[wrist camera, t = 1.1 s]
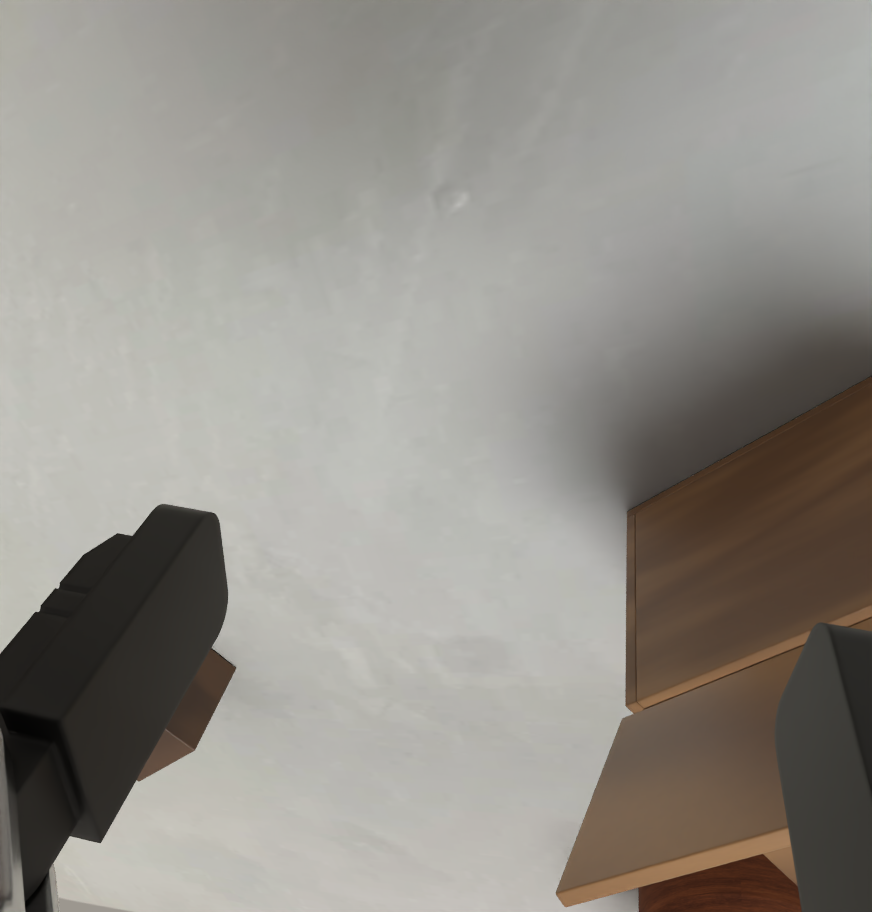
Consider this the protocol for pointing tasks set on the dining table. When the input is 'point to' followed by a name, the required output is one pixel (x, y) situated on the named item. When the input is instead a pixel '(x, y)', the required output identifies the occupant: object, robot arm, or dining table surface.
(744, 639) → the carton
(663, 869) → the flap
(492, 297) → the dining table surface
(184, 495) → the dining table surface
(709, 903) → the music box
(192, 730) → the block
